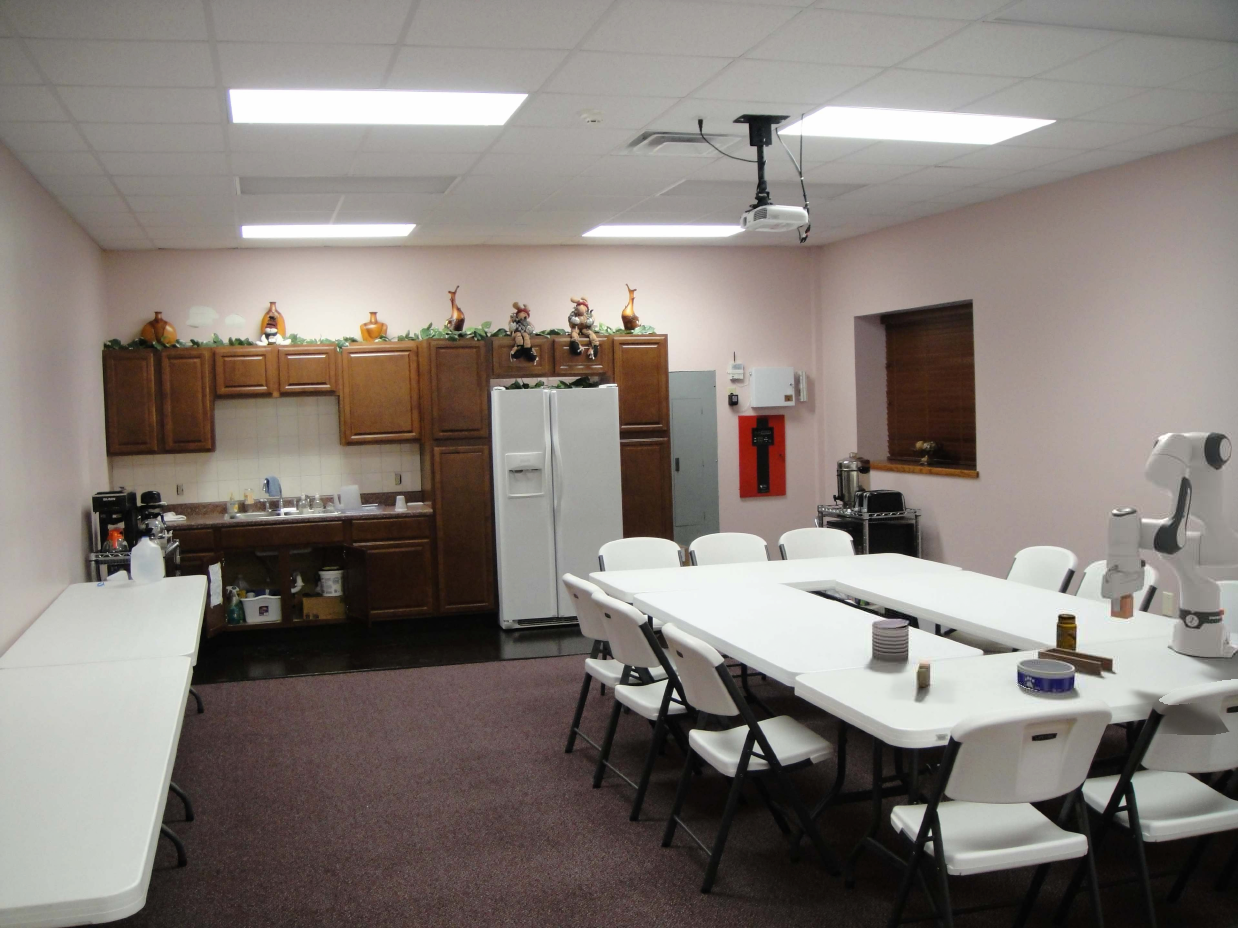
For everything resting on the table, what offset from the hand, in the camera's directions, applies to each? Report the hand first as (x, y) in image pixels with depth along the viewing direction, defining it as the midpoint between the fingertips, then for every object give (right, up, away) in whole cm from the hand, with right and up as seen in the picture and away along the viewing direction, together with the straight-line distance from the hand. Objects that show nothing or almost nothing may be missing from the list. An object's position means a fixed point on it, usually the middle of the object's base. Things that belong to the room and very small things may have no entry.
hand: (1122, 609), depth 294 cm
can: (-63, -19, +23) cm, 69 cm away
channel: (-9, -19, +11) cm, 24 cm away
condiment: (-4, -18, +29) cm, 35 cm away
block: (0, -2, 0) cm, 2 cm away
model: (-62, -22, -11) cm, 67 cm away
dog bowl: (-27, -21, -9) cm, 35 cm away
